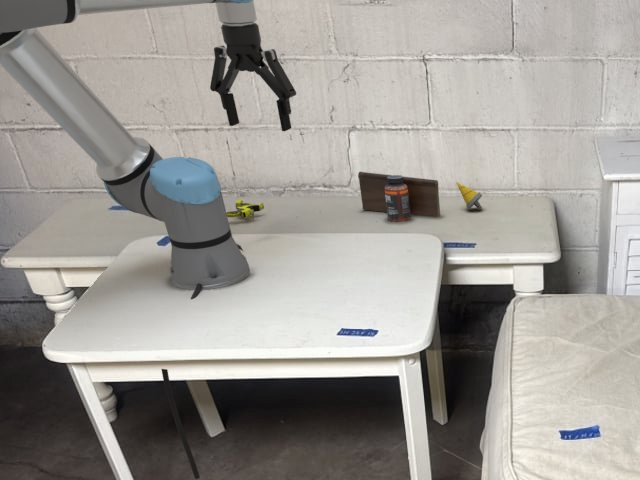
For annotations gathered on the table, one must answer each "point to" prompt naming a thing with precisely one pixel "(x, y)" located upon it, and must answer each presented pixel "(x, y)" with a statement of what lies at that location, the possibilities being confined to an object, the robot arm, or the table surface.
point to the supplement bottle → (397, 199)
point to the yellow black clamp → (245, 209)
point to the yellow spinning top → (470, 196)
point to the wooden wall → (419, 193)
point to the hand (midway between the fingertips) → (260, 127)
